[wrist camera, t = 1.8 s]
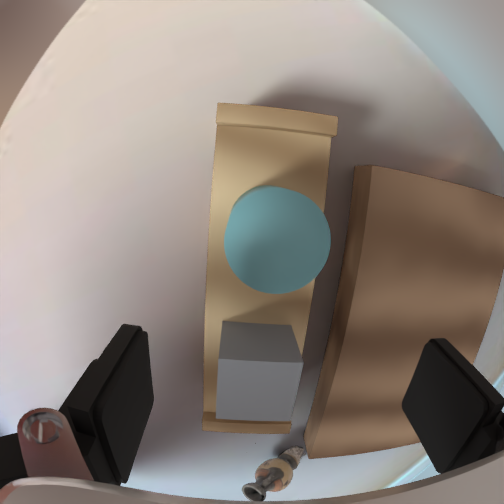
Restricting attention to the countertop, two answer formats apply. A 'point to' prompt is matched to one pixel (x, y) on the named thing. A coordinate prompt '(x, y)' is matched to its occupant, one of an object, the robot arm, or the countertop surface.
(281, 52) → the countertop surface
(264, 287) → the teal cylinder
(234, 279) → the light wood long block
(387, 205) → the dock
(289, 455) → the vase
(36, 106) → the countertop surface
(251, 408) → the grey cube
